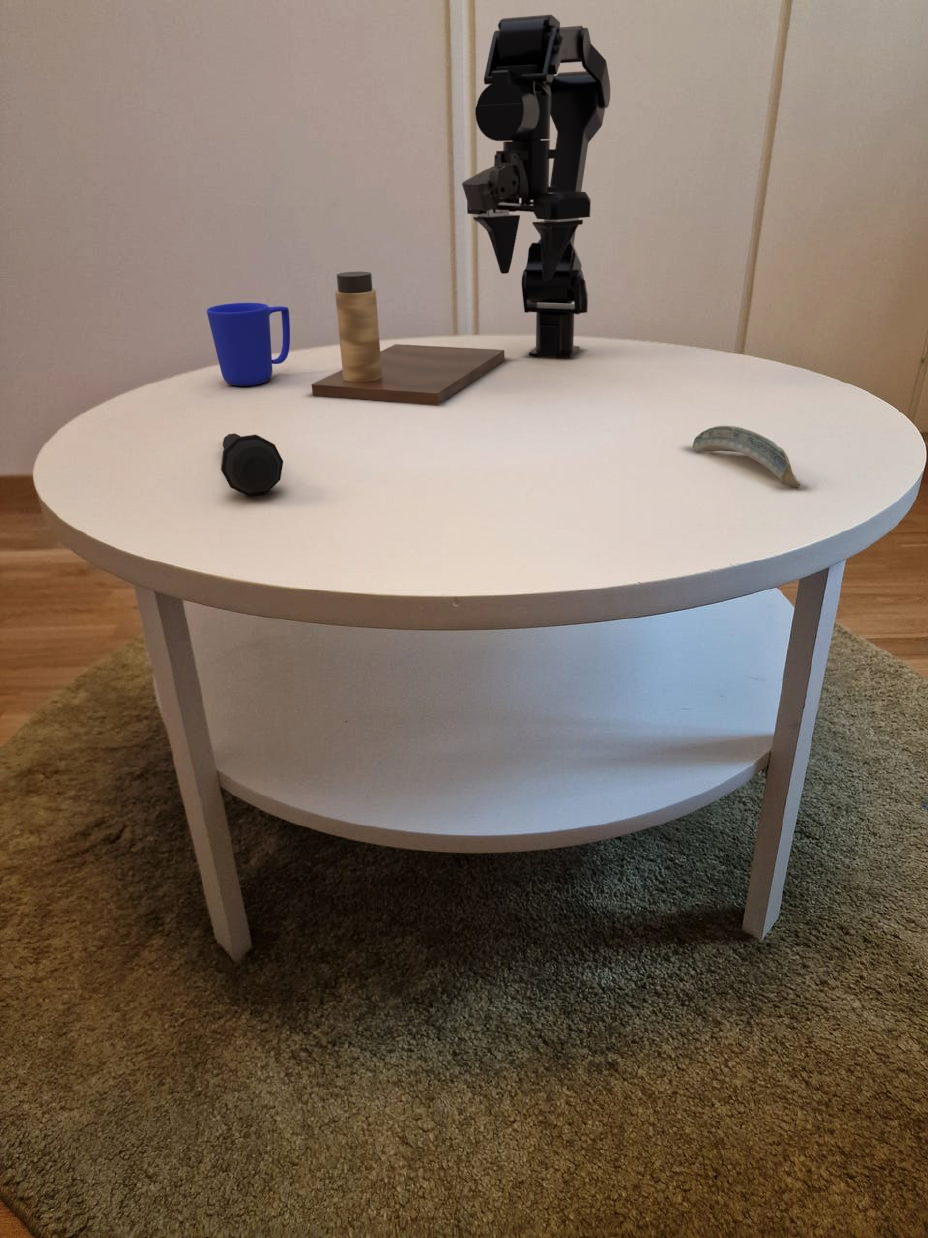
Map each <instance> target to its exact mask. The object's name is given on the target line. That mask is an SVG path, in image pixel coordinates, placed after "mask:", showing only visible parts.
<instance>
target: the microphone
mask: <svg viewBox="0 0 928 1238" xmlns="http://www.w3.org/2000/svg"><path fill="white" fill-rule="evenodd" d="M222 447H223V451H222V457H221V466H220V470H221V473H222V475H223V477H224V478H225V480H226V482H227V484H228V485H229V487H230V489H233V490H234V491H237V492H239V493H241V494H243V495H244V496H247V497H250V496H259V495H264V494H268V493H269V492H270V491H271V490H272V489H273V488H274V487H275V486H276V485H277V484H278V483H279V482H281V479H282V472H283V466H284V460H283V458H282V456H281V454H280V452H279V450H278V448H277V446H276V444H275V443H274V442H271V441H269V440H268V439H266V438H264V437H261V436H260V435H259V434H249V435H239V434H237V433H235V432H234V433H228V434H227V435H226V436H224V438H223V441H222Z"/></svg>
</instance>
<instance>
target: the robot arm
mask: <svg viewBox="0 0 928 1238" xmlns="http://www.w3.org/2000/svg"><path fill="white" fill-rule="evenodd" d="M497 28H498V30H495V31H494V32H493V34H492V38H491V43H490V48H489V52H488V57H487V62H486V67H485V71H484V76H483V83H484V85H486V87H485V88H484V89H483V91H482V92H481V93H480V95H479V97H478V99H477V102H476V106H475V109H474V110H475V111H474V112H475V113H474V114H475V121H476V124H477V126H478V129H479V131H480V132H481V133H482V134H483V135H484V136H485V137H486V138H488V139H490V140H491V141H495V142H502V150H496V152H495V154H494V156H493V157H494V161H493V162H494V164H493V166H490V167H489V168H486V169H484V170H482V171H480V172H478V173H476V174H475V175H473V176H471V177H469V178H467V179H466V180H464V181H463V182H462V183H461V185H462V189H463V192H464V196H465V200H466V211H467V215H477V216H473V220H474V222H476V223H478V224H479V225H481V226H482V228H484V229H485V231H486V232H487V234H488V237H489V239H490V242H491V245H492V249H493V252H494V256H495V259H496V262H497V265H498V269H499V272H500V274H502V275H504V274H505V275H507V274H509V272H510V269H511V265H512V261H513V257H514V252H515V251H514V250H515V245H516V241H517V235H518V229H519V225H520V219H521V215H520V214H510V212H511V213H515V212H526V213H533V214H534V216H535V218H536V220H540V221H532V226H533V227H534V229H535V230H536V231H537V233H538V234H539V237H540V239H539V240H538V241H537V242H532V243H531V244H530V245H529V248H528V253H527V262H526V266H525V268H524V269H523V271H522V275H521V295H522V302H523V303H522V304H523V311H524V313H527V314H528V313H535V314H536V315H535V347H534V348H533V349H531V350H530V351H529V352H528V356H529V357H541V358H542V357H543V358H544V357H545V358H560V359H561V358H563V359H569V358H571V357H573V356H574V355H575V354H577V353H578V352H579V351H580V350H581V346H579V345H574V339H575V338H574V336H575V315H580V314H586V313H588V312H589V311H588V310H589V309H588V308H589V298H588V297H589V296H588V295H589V293H588V290H587V283H586V280H585V277H584V273H583V270H582V265H583V264H582V263H581V260H580V258H579V255H578V253H577V250H576V247H575V240H576V239H575V238H576V231H577V228H578V227H579V226H582V225H583V223H584V219H585V218H591V203H592V200H591V198H590V197H589V195H588V193H587V192H586V191H582V189H583V181H584V175H585V168H586V162H587V154H588V147H589V143H590V142H591V141H592V139H593V138H594V136H595V135H596V134H597V132H599V131H600V129H601V128H602V126H603V122H604V118H605V112H606V109H608V107H609V105H610V102H611V80H610V75H609V69H608V63H607V60H606V59H605V58H604V56H603V55H602V54H601V52H599V51H598V49H597V48H596V47H595V46H594V45H593V44H592V42H591V36H590V31H589V28H588V27H584V26H583V25H574V26H573V25H572V26H561V22H560V21H559V19H557V18H556V17H555V16H554V15H553V14H541V15H540V14H539V15H527V16H515V17H504V18H503V17H502V18H501V19H500V20H499V21H498V24H497ZM570 63H571V64H573V63H581V66H582V68H583V69H584V70H583V71H566V72H565V71H563V72H558V70H559V68H560V66H561V64H570ZM551 120H552V123H553V124H554V125H553V126H554V127H555V130H556V132H557V133H556V140H555V147H554V148H552V149H551V148H550V147H551V145H550V144H551V140H550V139H551ZM551 159H553V162H552V169H551V176H550V160H551ZM541 220H542V221H541Z"/></svg>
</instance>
